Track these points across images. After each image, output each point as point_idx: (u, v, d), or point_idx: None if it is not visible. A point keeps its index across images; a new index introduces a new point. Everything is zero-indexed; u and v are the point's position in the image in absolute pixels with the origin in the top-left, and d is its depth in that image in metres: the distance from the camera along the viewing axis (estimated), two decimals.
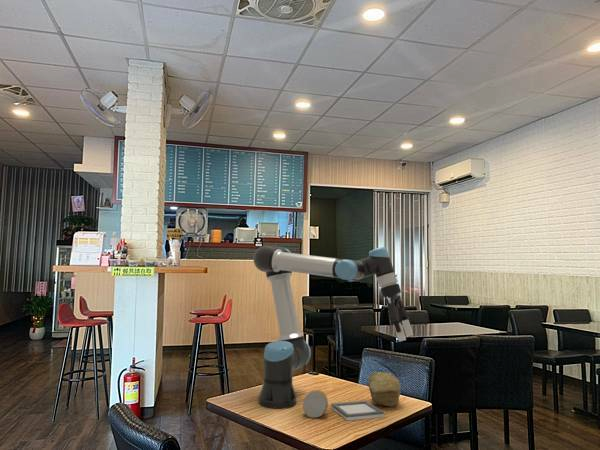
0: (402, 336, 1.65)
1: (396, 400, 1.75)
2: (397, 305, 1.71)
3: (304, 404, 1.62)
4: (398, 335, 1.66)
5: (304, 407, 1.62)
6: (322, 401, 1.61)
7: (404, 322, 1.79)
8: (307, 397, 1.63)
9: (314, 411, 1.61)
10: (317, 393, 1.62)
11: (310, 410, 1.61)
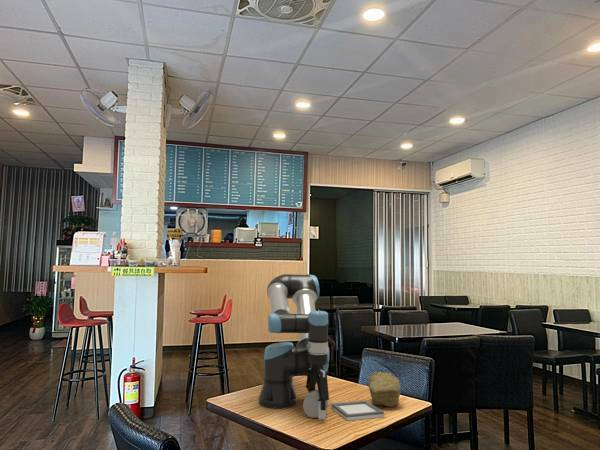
0: None
1: (396, 400, 1.75)
2: (310, 375, 1.68)
3: (304, 404, 1.62)
4: None
5: (304, 407, 1.62)
6: None
7: None
8: (307, 397, 1.63)
9: (314, 411, 1.61)
10: (317, 393, 1.62)
11: (310, 410, 1.61)
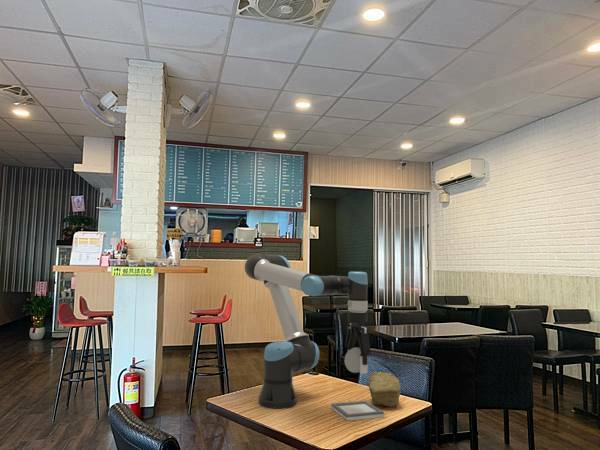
0: None
1: (396, 400, 1.75)
2: (350, 333, 1.74)
3: (345, 360, 1.68)
4: None
5: (346, 363, 1.68)
6: None
7: None
8: (348, 353, 1.68)
9: (355, 367, 1.66)
10: (358, 349, 1.68)
11: (352, 365, 1.67)
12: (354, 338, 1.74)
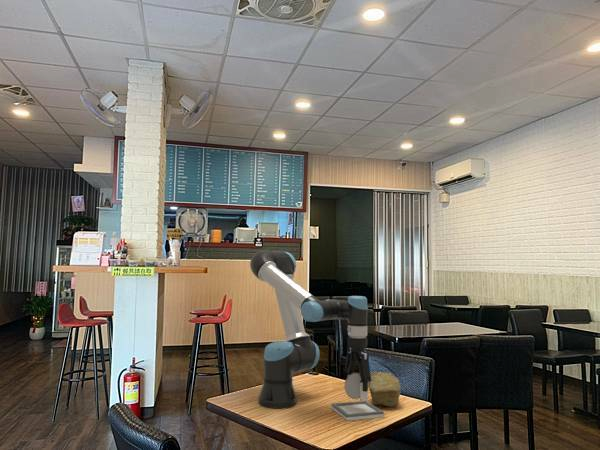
0: None
1: (396, 400, 1.75)
2: (349, 358, 1.73)
3: (346, 386, 1.67)
4: None
5: (346, 389, 1.67)
6: None
7: None
8: (348, 379, 1.67)
9: (355, 393, 1.65)
10: (358, 375, 1.67)
11: (352, 391, 1.66)
12: (354, 363, 1.73)
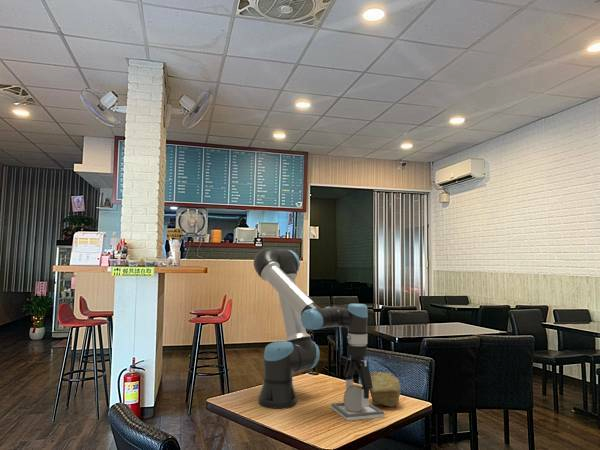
0: None
1: (396, 400, 1.75)
2: (349, 365, 1.73)
3: (345, 398, 1.67)
4: None
5: (345, 401, 1.67)
6: None
7: None
8: (347, 392, 1.67)
9: (354, 406, 1.65)
10: (357, 388, 1.66)
11: (351, 404, 1.66)
12: (353, 370, 1.73)
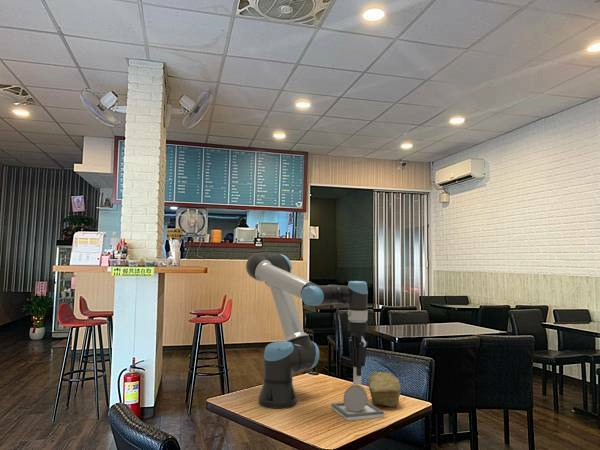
0: None
1: (396, 400, 1.75)
2: (351, 345, 1.72)
3: (345, 398, 1.67)
4: None
5: (345, 401, 1.67)
6: (363, 396, 1.65)
7: None
8: (348, 392, 1.67)
9: (354, 406, 1.65)
10: (357, 388, 1.66)
11: (351, 404, 1.66)
12: None
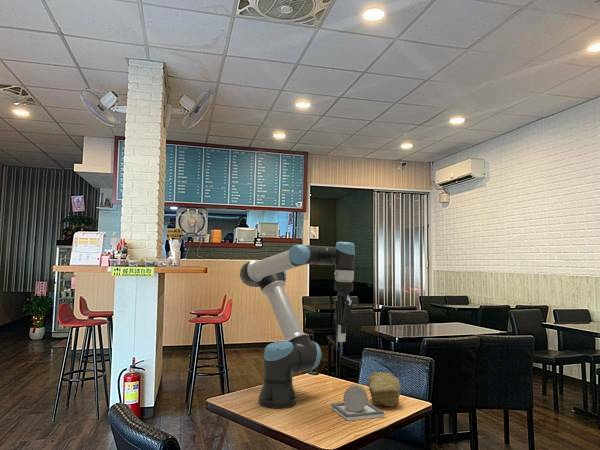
0: None
1: (396, 400, 1.75)
2: (337, 304, 1.76)
3: (345, 398, 1.67)
4: None
5: (345, 401, 1.67)
6: (363, 395, 1.65)
7: None
8: (347, 392, 1.67)
9: (354, 406, 1.65)
10: (357, 388, 1.66)
11: (351, 404, 1.66)
12: None
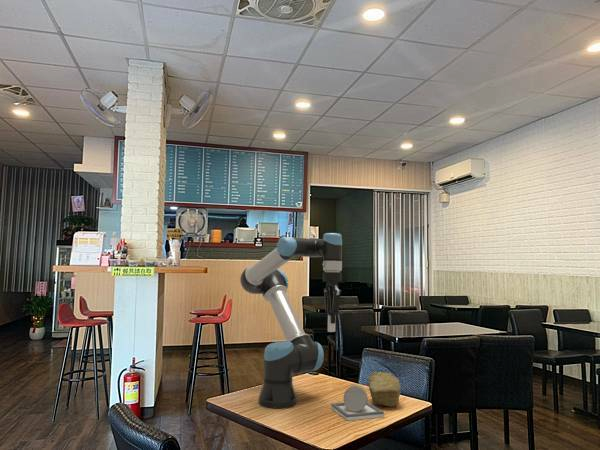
0: None
1: (396, 400, 1.75)
2: (326, 295, 1.78)
3: (345, 398, 1.67)
4: None
5: (345, 401, 1.67)
6: (363, 395, 1.65)
7: None
8: (347, 392, 1.67)
9: (354, 406, 1.65)
10: (357, 388, 1.66)
11: (351, 404, 1.66)
12: None
